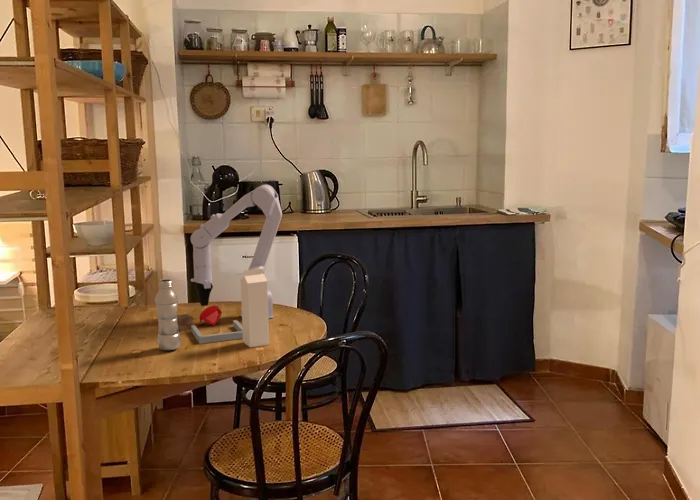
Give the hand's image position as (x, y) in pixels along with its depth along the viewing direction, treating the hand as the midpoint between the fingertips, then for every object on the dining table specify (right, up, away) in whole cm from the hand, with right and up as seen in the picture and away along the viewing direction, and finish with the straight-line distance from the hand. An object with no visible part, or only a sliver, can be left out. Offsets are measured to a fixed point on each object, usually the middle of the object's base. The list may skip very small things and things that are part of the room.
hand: (204, 305), depth 229 cm
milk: (+21, -9, -28) cm, 36 cm away
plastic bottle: (-3, -10, -33) cm, 34 cm away
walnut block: (-4, -6, -12) cm, 14 cm away
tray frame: (+8, -7, -19) cm, 22 cm away
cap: (+4, -6, -7) cm, 10 cm away
